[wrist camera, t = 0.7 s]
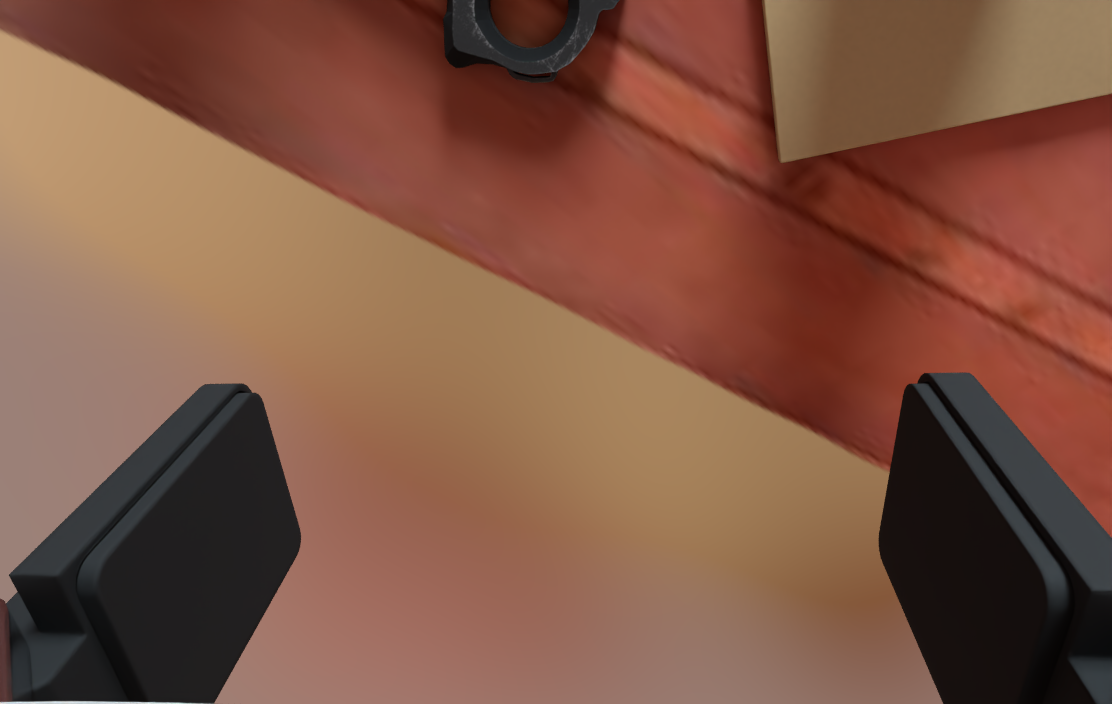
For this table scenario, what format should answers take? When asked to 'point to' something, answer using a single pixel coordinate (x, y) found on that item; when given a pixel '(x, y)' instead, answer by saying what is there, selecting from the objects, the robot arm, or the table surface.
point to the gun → (481, 42)
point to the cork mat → (925, 65)
